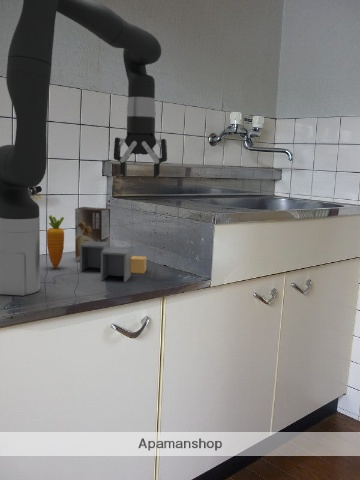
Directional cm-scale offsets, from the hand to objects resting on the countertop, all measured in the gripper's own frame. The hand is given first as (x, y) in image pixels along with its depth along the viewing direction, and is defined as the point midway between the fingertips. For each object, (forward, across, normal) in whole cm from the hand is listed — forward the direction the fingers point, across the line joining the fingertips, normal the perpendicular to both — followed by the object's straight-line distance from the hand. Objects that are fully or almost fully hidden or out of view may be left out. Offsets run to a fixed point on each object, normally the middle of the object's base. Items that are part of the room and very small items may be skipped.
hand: (140, 177), depth 134 cm
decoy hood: (+26, -12, -2) cm, 29 cm away
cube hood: (+26, -4, -10) cm, 28 cm away
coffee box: (+26, -16, +10) cm, 33 cm away
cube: (+26, 0, 0) cm, 26 cm away
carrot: (+26, -23, -2) cm, 35 cm away
